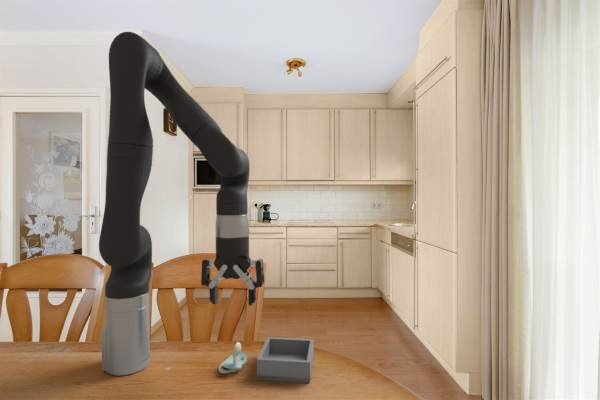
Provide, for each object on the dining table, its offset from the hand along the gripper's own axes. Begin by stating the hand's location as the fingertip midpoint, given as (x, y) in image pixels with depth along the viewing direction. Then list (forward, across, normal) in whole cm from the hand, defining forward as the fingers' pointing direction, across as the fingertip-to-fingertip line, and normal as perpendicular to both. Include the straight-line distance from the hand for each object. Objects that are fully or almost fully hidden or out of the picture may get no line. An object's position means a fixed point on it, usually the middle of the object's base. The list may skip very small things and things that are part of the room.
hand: (233, 304), depth 82 cm
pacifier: (+15, 0, 0) cm, 15 cm away
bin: (+15, +12, +1) cm, 20 cm away
